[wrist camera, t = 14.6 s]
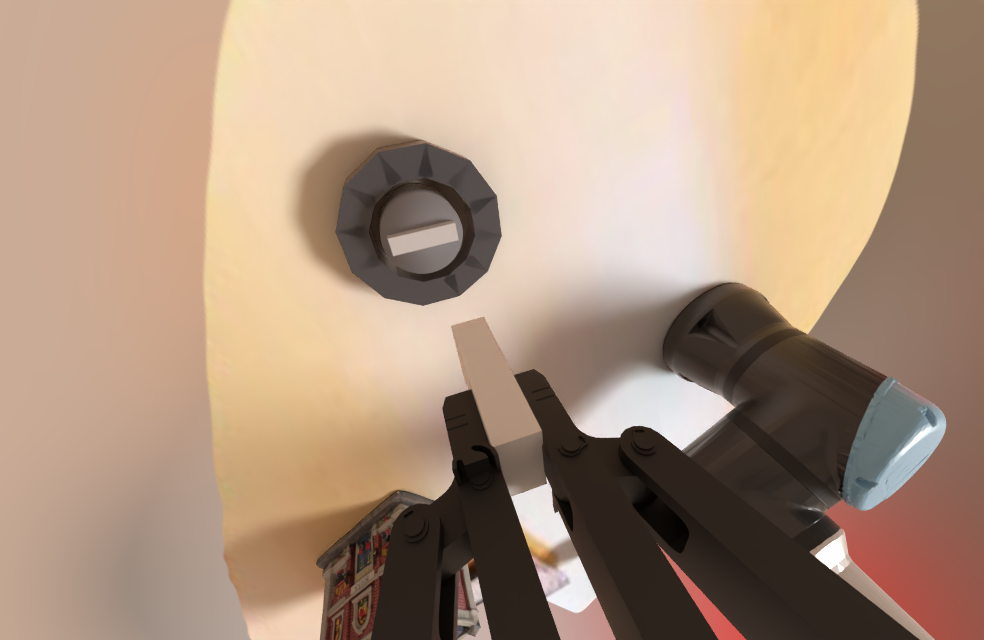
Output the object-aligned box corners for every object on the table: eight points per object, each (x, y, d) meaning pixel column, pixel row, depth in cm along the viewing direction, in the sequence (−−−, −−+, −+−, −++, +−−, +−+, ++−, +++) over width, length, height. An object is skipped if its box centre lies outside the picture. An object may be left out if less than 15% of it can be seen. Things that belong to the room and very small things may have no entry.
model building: (398, 487, 48) (412, 683, 32) (466, 509, 56) (506, 676, 40) (314, 560, 52) (288, 772, 35) (390, 572, 60) (398, 749, 43)
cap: (444, 176, 29) (456, 187, 25) (459, 247, 33) (471, 266, 29) (368, 192, 28) (367, 207, 24) (392, 263, 32) (395, 286, 28)
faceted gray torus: (479, 128, 28) (488, 131, 26) (499, 272, 35) (507, 283, 33) (313, 160, 26) (308, 165, 24) (371, 306, 33) (371, 319, 31)
